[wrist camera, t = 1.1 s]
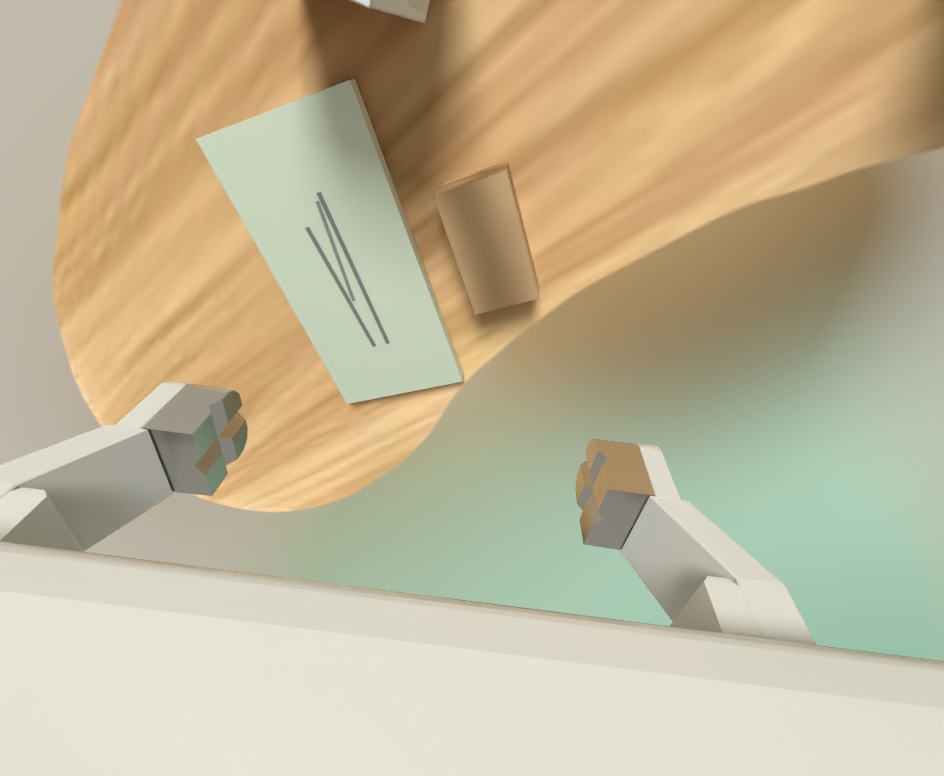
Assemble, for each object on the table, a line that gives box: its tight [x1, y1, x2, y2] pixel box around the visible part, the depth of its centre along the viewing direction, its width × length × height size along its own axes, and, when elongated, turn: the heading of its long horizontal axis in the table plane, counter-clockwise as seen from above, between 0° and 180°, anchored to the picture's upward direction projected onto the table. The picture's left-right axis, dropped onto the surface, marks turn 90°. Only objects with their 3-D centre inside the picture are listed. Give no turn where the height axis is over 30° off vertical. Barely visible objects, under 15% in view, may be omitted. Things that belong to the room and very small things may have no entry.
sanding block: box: [434, 161, 539, 315], centre depth 33 cm, size 5×9×4 cm, turn 18°
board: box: [196, 79, 464, 404], centre depth 37 cm, size 12×24×1 cm, turn 17°
